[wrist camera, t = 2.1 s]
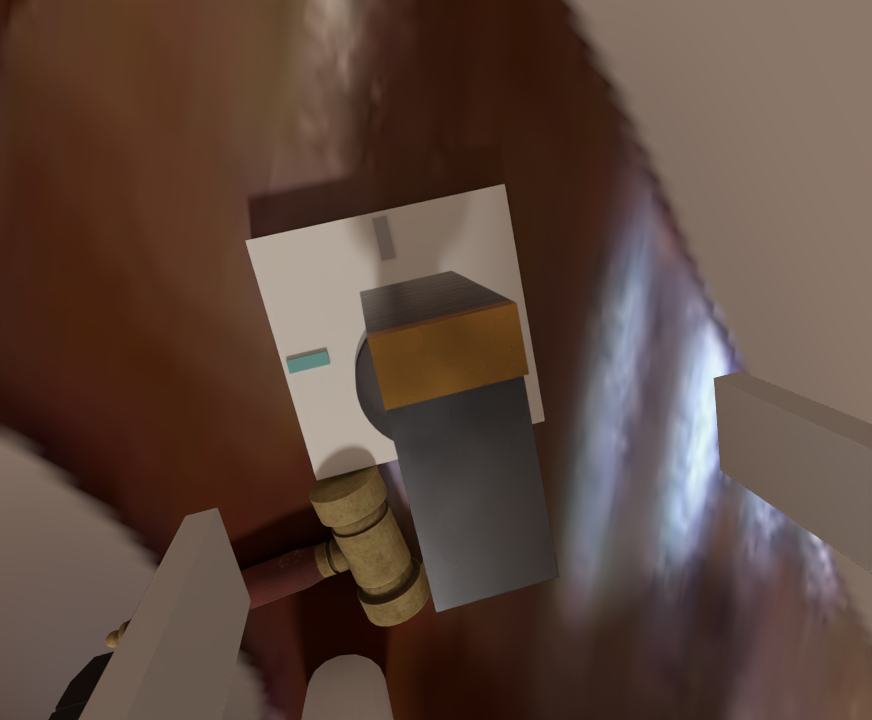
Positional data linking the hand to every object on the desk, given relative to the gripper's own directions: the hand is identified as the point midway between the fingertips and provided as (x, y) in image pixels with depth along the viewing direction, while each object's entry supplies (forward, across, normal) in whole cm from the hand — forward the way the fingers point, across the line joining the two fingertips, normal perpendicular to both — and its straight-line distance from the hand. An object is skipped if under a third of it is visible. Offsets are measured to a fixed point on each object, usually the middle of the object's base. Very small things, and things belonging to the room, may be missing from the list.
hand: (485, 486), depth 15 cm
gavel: (+23, +13, +15) cm, 30 cm away
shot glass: (+22, +10, +26) cm, 35 cm away
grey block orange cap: (+14, 0, 0) cm, 14 cm away
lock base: (+22, 0, 0) cm, 22 cm away
